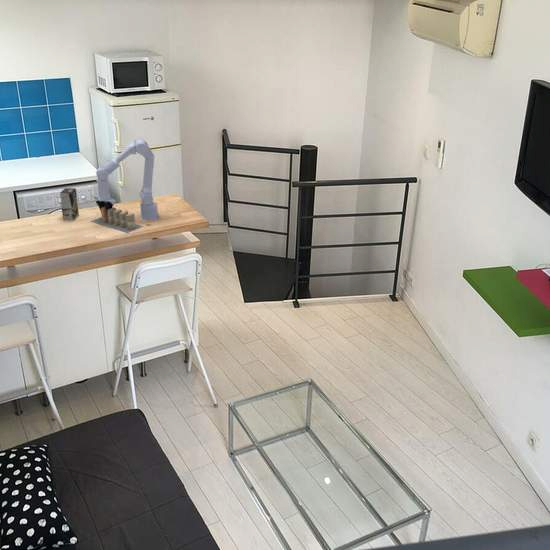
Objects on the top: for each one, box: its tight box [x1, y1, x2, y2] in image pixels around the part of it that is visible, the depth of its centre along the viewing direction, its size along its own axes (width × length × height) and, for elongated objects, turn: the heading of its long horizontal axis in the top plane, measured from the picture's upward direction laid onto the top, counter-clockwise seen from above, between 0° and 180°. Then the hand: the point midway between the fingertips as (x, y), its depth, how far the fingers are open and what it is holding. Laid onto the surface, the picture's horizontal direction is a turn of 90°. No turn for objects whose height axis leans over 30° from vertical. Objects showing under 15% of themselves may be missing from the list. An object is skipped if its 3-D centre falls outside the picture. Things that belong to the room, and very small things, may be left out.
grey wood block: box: [107, 206, 117, 224], centre depth 339 cm, size 2×4×8 cm, turn 147°
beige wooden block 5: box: [126, 212, 136, 230], centre depth 332 cm, size 2×4×8 cm, turn 147°
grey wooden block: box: [113, 209, 123, 226], centre depth 336 cm, size 2×4×8 cm, turn 147°
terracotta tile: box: [100, 207, 108, 222], centre depth 341 cm, size 2×4×8 cm, turn 144°
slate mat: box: [90, 216, 144, 234], centre depth 339 cm, size 28×12×1 cm, turn 57°
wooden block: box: [119, 210, 129, 228], centre depth 334 cm, size 2×4×8 cm, turn 147°
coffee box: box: [59, 187, 80, 222], centre depth 342 cm, size 9×6×16 cm
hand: (106, 213), depth 341 cm, fingers open, 4 cm apart
